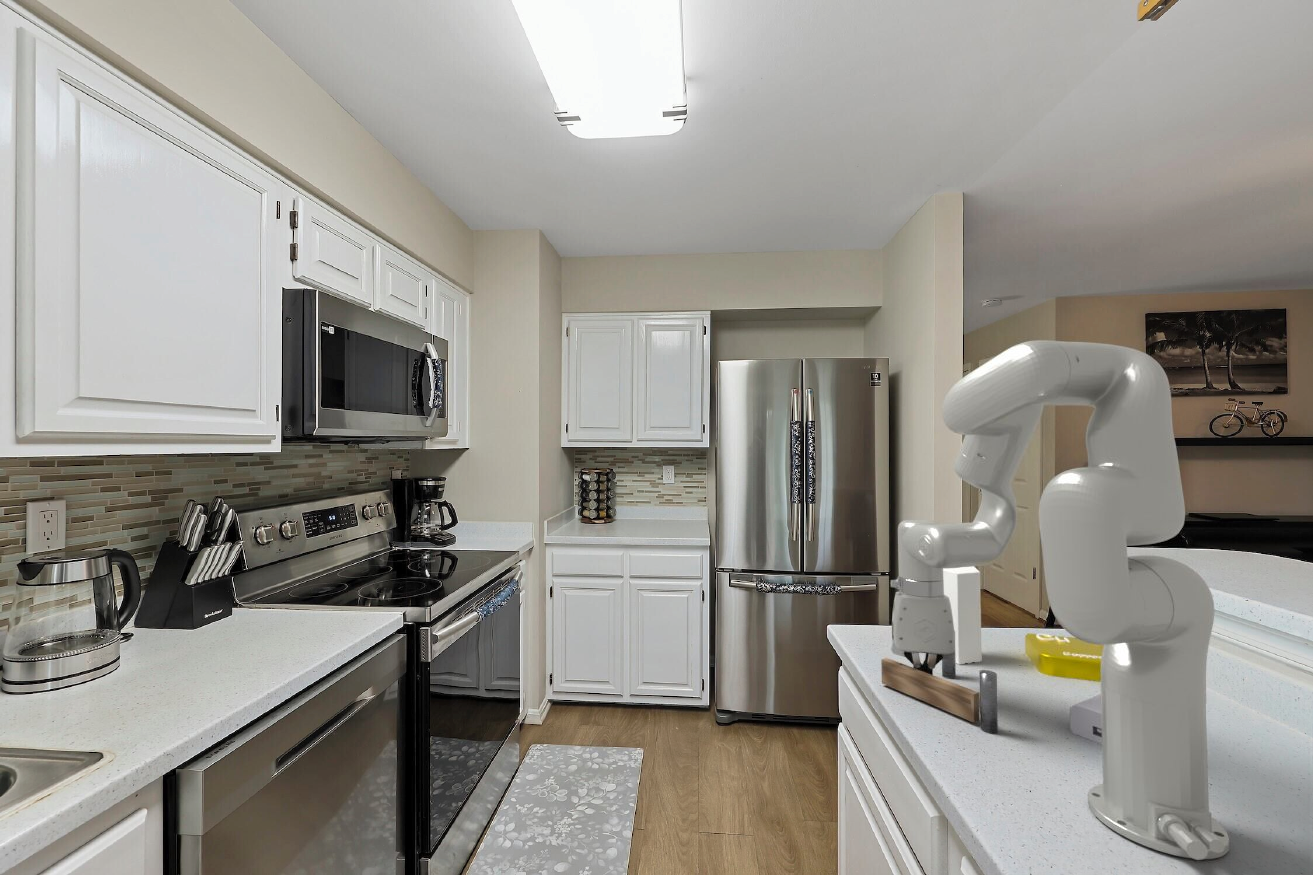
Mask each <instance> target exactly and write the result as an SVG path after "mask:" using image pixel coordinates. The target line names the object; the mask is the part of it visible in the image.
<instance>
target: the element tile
mask: <svg viewBox="0 0 1313 875" xmlns="http://www.w3.org/2000/svg"><path fill="white" fill-rule="evenodd" d="M1024 645H1025V646H1024V647H1025V653H1024V654H1027V655H1026V656H1027V658H1028V659H1029V660H1030V662H1031V663H1032V664H1033V666H1034V665H1035V666H1034V667H1035V668H1036V670H1037V671H1038V672H1039V673H1041V674H1042V673H1043V675H1046V676H1051V677H1058V678H1065V679H1074V680H1082V681H1090V682H1099V683H1101V658H1102V653H1103V648H1104V645H1097V644H1091V643H1087V642H1084V641H1081V640H1079V639H1077V638H1075V637H1068V636H1061V635H1060V636H1059V635H1051V634H1047V633H1027V634H1025V635H1024Z"/></svg>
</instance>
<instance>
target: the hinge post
mask: <svg viewBox="0 0 1313 875" xmlns="http://www.w3.org/2000/svg"><path fill="white" fill-rule="evenodd" d="M998 713H999V712H998V674H997V673H996V672H995V671H992V670H989V669H988V670H987V669H981V670H979V714H980V725H979V727H980V730H981V731H983V732H985V733H987V734H998V732H999V722H998V721H999V717H998V716H999V714H998Z"/></svg>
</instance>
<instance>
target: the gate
mask: <svg viewBox="0 0 1313 875" xmlns="http://www.w3.org/2000/svg"><path fill="white" fill-rule="evenodd" d="M880 664H881V684H883V685H884V686H888V687H889V688H892V689H895V690H897V691H899V692H902V693H904V694H905V695H906V694H907V695H908V696H910V697H912V698H913V697H914V699H915V698H916V699H918V700H921V701H923V702H925V703H927V704H929V705H932V706H934V707H937V708H939V709H941V710H944V711H946V712H949V713H951V714H953V715H955V716H958V717H960V718H963V719H965V720H967V721H970V722H971V723H977V722H979V721H980V691H979V692H978V691H977V690H973V689H971V688H967V687H965V686H963V685H959V684H957V683H954V682H952V681H949V680H947V679H944V678H942V677H939V676H936V675H934V674H933V675H931V674H928V673H926V672H923V671H920V670H918V669H915V668H913V666H910V665H907V664H905V663H903V662H899V661H897V660H893V659H891V658H888V657H885V658H881V663H880Z"/></svg>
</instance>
